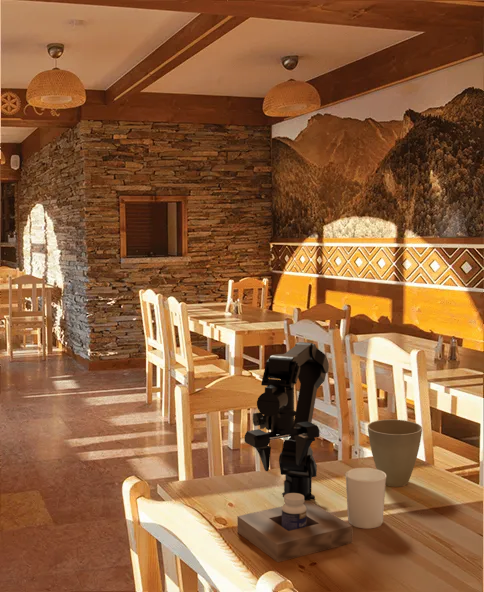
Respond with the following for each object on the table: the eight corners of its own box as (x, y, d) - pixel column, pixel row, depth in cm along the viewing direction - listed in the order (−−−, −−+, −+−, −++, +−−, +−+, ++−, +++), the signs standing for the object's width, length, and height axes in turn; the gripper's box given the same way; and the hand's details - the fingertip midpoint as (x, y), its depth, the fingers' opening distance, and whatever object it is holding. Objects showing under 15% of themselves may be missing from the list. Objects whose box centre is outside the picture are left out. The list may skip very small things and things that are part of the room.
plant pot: (381, 469, 228) (381, 416, 226) (429, 480, 220) (430, 424, 218) (357, 484, 216) (357, 428, 214) (407, 495, 208) (408, 437, 206)
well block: (308, 515, 195) (308, 500, 194) (352, 542, 179) (352, 525, 178) (237, 532, 185) (237, 516, 184) (277, 562, 169) (277, 544, 169)
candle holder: (388, 516, 194) (389, 469, 192) (382, 532, 184) (383, 483, 183) (349, 512, 197) (349, 465, 196) (341, 527, 188) (341, 478, 186)
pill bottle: (304, 543, 179) (304, 501, 178) (279, 541, 180) (279, 499, 179) (307, 533, 184) (307, 492, 183) (283, 531, 185) (283, 490, 184)
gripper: (296, 395, 204) (296, 453, 206) (233, 404, 195) (233, 464, 197) (321, 404, 194) (320, 465, 196) (255, 414, 185) (256, 478, 187)
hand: (282, 467), depth 194 cm, fingers open, 9 cm apart
